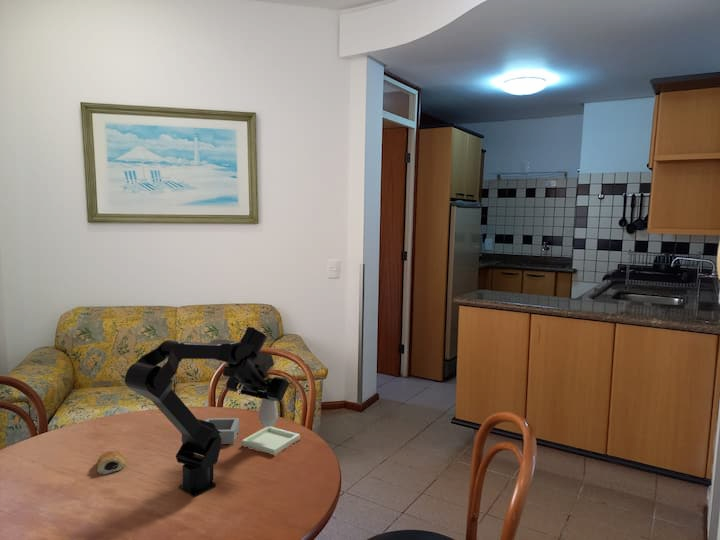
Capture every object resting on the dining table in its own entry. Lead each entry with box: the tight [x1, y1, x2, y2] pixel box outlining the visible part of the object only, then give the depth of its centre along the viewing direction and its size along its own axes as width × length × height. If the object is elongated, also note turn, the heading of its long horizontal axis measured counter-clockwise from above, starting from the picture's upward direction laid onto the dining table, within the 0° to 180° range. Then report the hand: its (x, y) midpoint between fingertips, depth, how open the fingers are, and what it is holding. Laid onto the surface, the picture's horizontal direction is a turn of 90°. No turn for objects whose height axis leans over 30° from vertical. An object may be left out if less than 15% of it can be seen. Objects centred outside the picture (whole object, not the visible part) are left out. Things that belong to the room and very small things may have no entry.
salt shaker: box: [257, 392, 279, 428], centre depth 143 cm, size 6×6×13 cm
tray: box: [241, 426, 301, 455], centre depth 143 cm, size 12×12×2 cm
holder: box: [204, 417, 240, 445], centre depth 146 cm, size 10×10×4 cm
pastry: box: [96, 450, 127, 475], centre depth 128 cm, size 9×7×4 cm
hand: (269, 398), depth 143 cm, fingers closed on salt shaker, 3 cm apart
